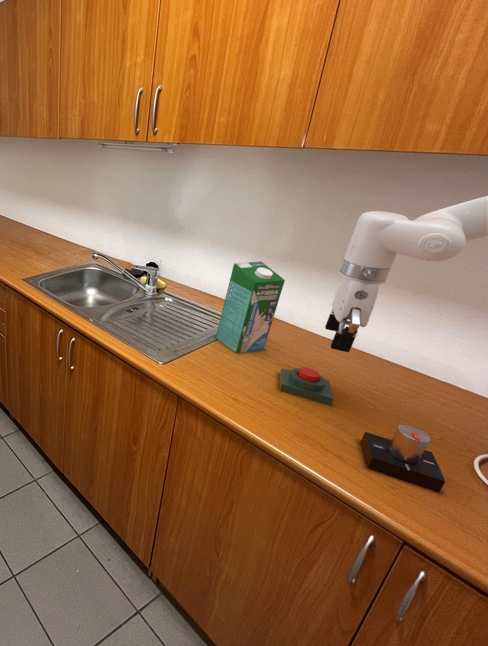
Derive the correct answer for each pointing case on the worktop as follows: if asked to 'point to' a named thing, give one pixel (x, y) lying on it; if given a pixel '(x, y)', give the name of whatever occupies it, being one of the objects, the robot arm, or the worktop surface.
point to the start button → (308, 374)
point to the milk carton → (249, 306)
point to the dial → (408, 444)
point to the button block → (305, 386)
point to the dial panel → (401, 464)
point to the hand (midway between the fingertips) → (336, 339)
